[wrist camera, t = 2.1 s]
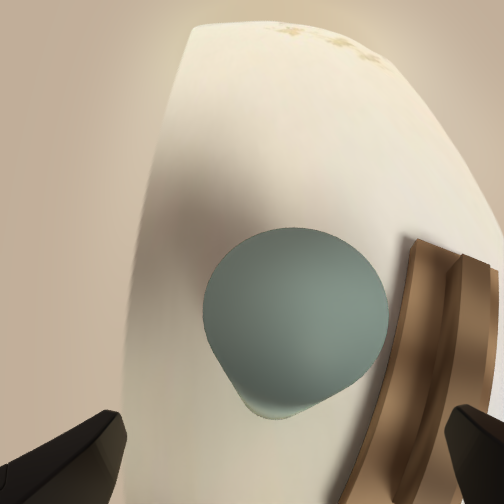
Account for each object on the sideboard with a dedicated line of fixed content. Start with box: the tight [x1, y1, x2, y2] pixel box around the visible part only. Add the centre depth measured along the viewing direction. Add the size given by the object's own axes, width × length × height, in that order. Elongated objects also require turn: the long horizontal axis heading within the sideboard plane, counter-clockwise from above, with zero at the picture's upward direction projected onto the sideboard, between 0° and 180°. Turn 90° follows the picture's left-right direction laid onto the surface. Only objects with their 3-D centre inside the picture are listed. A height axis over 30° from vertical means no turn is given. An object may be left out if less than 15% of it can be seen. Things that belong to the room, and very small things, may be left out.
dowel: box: [203, 228, 389, 420], centre depth 13 cm, size 4×4×12 cm
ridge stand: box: [338, 239, 499, 504], centre depth 15 cm, size 20×8×4 cm, turn 157°
